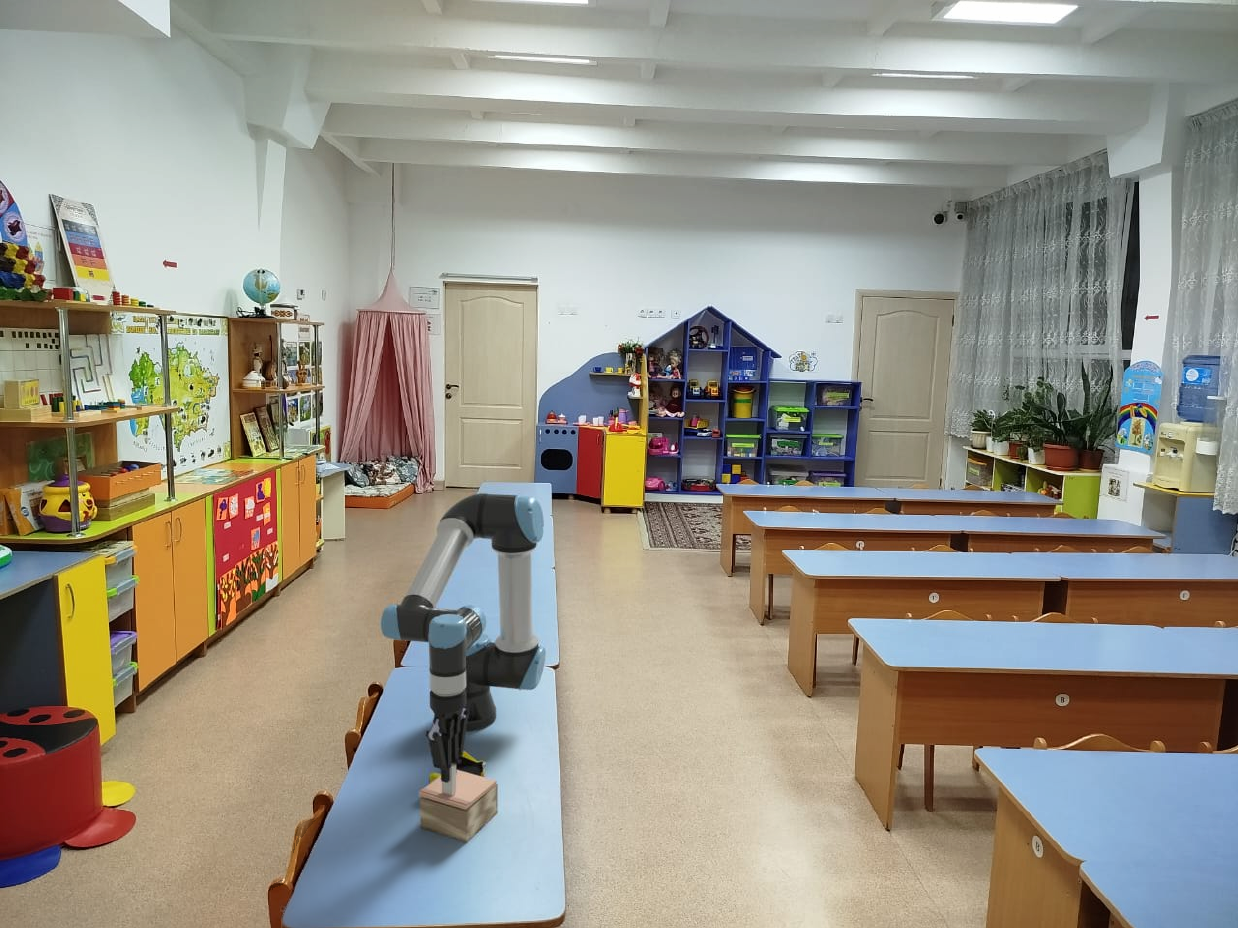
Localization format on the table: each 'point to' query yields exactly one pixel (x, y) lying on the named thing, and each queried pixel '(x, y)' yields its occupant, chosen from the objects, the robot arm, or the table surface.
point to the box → (458, 816)
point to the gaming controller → (465, 766)
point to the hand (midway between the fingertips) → (449, 792)
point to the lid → (459, 790)
